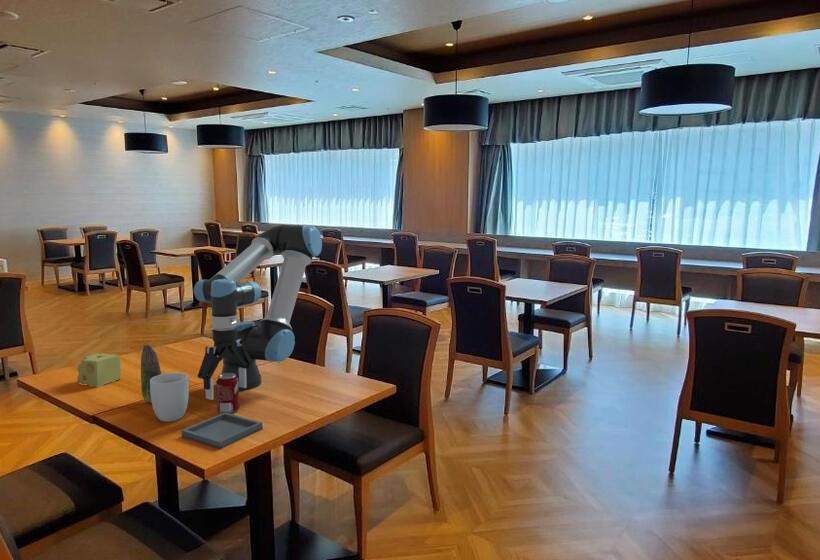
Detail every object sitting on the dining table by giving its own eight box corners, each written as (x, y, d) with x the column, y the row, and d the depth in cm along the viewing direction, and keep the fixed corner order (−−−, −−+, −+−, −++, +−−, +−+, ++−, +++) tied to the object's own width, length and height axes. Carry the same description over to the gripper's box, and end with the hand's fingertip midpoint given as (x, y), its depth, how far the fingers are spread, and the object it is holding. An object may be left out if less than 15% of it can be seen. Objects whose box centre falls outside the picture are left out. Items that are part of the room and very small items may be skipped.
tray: (181, 436, 163) (181, 430, 162) (225, 418, 176) (224, 412, 176) (220, 449, 155) (219, 442, 154) (262, 429, 168) (262, 422, 168)
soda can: (232, 415, 179) (231, 379, 177) (213, 414, 180) (211, 377, 178) (243, 408, 185) (241, 372, 184) (224, 406, 187) (222, 371, 185)
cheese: (77, 384, 208) (75, 358, 207) (102, 376, 218) (101, 351, 217) (97, 388, 204) (95, 361, 203) (122, 379, 214) (120, 354, 213)
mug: (140, 415, 179) (137, 375, 177) (173, 406, 187) (171, 368, 185) (162, 427, 169) (160, 385, 167) (196, 417, 178) (194, 377, 176)
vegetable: (142, 399, 193) (138, 342, 190) (162, 397, 195) (159, 341, 192) (142, 405, 187) (138, 347, 184) (162, 403, 190) (158, 345, 187)
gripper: (200, 337, 166) (203, 406, 169) (262, 322, 188) (263, 384, 190) (183, 334, 170) (186, 401, 173) (245, 320, 191) (247, 381, 194)
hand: (226, 392), depth 181 cm, fingers open, 13 cm apart
